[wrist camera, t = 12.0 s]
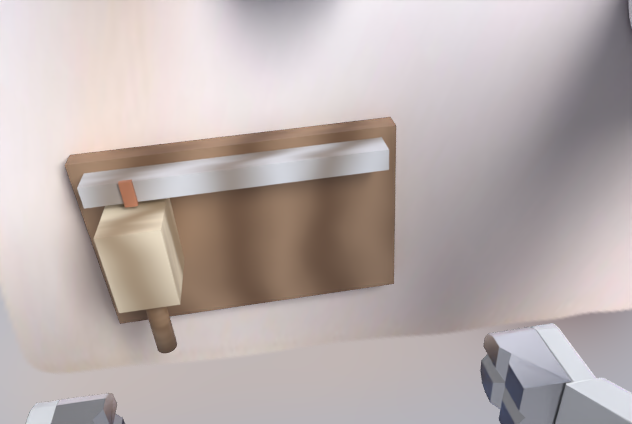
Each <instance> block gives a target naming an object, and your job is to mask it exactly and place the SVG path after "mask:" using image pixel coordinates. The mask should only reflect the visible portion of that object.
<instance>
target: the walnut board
mask: <svg viewBox="0 0 632 424" xmlns="http://www.w3.org/2000/svg"><path fill="white" fill-rule="evenodd" d="M395 162H396V125H395V123H394V122H393V120H392V119H391V117H386V118H378V119H370V120H361V121H353V122H344V123H336V124H328V125H319V126H311V127H302V128H294V129H285V130H277V131H269V132H260V133H252V134H243V135H235V136H227V137H218V138H210V139H201V140H193V141H185V142H176V143H168V144H159V145H151V146H142V147H134V148H126V149H117V150H109V151H100V152H92V153H84V154H75V155H70V156H69V158H68V160H67V162H66V164H65V168H66V170H67V173H68V176H69V179H70V182H71V185H72V188H73V191H74V193H75V196H76V199H77V202H78V205H79V208H80V211H81V213H82V216H83V219H84V222H85V225H86V228H87V231H88V233H89V236H90V239H91V242H92V245H93V248H94V251H95V253H96V256H97V259H98V262H99V265H100V268H101V271H102V273H103V276H104V279H105V282H106V285H107V288H108V291H109V293H110V296H111V299H112V302H113V305H114V308H115V311H116V314H117V316H118V319H119V322H120V324H121V323H128V322H135V321H141V320H148V316H147V313H146V309H145V310H138V311H131V312H124V313H119V312H118V309H117V306H116V303H115V300H114V297H113V294H112V292H111V289H110V286H109V283H108V280H107V277H106V274H105V271H104V268H103V265H102V262H101V259H100V257H99V254H98V251H97V248H96V245H95V242H94V236H95V233H96V231H97V228H98V225H99V222H100V219H101V216H102V213H103V210H104V208H105V206H109V205H116V204H124V205H125V208H127V207H135V206H138V202H140V201H148V200H156V199H164V198H170V201H171V205H172V209H173V214H174V218H175V222H176V226H177V230H178V234H179V239H180V243H181V247H182V251H183V255H184V259H185V260H184V270H183V281H182V291H181V301H180V305H173V306H167V310H168V313H169V316H176V315H183V314H190V313H196V312H203V311H210V310H217V309H224V308H231V307H238V306H245V305H251V304H258V303H265V302H272V301H279V300H286V299H293V298H300V297H306V296H313V295H320V294H327V293H334V292H341V291H348V290H355V289H361V288H368V287H375V286H382V285H389V284H394V233H395Z"/></svg>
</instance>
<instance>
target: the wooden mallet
mask: <svg viewBox="0 0 632 424" xmlns="http://www.w3.org/2000/svg"><path fill="white" fill-rule="evenodd" d="M94 242H95V245H96V248H97V251H98V254H99V257H100V259H101V262H102V265H103V268H104V271H105V274H106V277H107V280H108V283H109V286H110V289H111V292H112V294H113V297H114V300H115V303H116V306H117V309H118V312H119V313H124V312H131V311H138V310H145V309H146V313H147V316H148V319H149V322H150V326H151V329H152V332H153V335H154V339H155V342H156V345H157V348H158V351H159V352H161V353H169V352H171V351H173V350H174V349H175V348H176V346H177V342H176V338H175V335H174V331H173V327H172V324H171V320H170V317H169V313H168V310H167V306H173V305H180V301H181V291H182V281H183V270H184V260H185V259H184V255H183V251H182V247H181V243H180V239H179V234H178V230H177V226H176V222H175V218H174V214H173V209H172V205H171V201H170V198H164V199H156V200H148V201H140V202H138V206H135V207H127V208H125V205H124V204H116V205H109V206H105V208H104V210H103V213H102V216H101V219H100V222H99V225H98V228H97V231H96V233H95V236H94Z"/></svg>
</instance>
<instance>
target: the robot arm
mask: <svg viewBox="0 0 632 424" xmlns="http://www.w3.org/2000/svg"><path fill="white" fill-rule="evenodd" d="M629 17H630V23H631V27H632V0H629ZM484 348H485V350H486V352H487V355H486V356H485V357H484V358H483V359H482V361H481V378H482V384H483V387H484V390H485V393H486V395H487V397H488V399H489V401H490V403H492V404H493V405H495V406H496V407H498V408H499V409H500V415H499V421H500V423H501V424H632V393H630V392H629V391H627V390H625V389H623V388H621V387H619V386H618V385H616V384H614V383H612V382H610V381H608V380H607V379H605V378H596V377H595V376H594V374H593V373H592V372H591V370H590V369H589V368H588V366H587V365H586V364H585V363H584V361H583V360H582V358H581V357H580V356H579V354H578V353H577V352H576V350H575V349H574V348H573V346H572V345H571V344H570V342H569V341H568V340H567V338H566V337H565V336H564V334H563V333H562V332H561V330H560V329H559V328H558V326H556V325H555V324H553V323H551V324H544V325H538V326H532V327H524V328H518V329H513V330H506V331H500V332H495V333H489V334H487V336H486V337H485V340H484ZM116 407H117V402H116V400H115V398H114V396H113V394H112V393H106V394H99V395H92V396H83V397H76V398H68V399H61V400H55V401H48V402H41V403H36V404H35V405H34V406H33V408H32V409H31V410H30V412H29V415H28V418H27V421H26V424H125V423H124V420H123V418H122V417H120V416H119V415H117V414H115V412H116Z"/></svg>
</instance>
